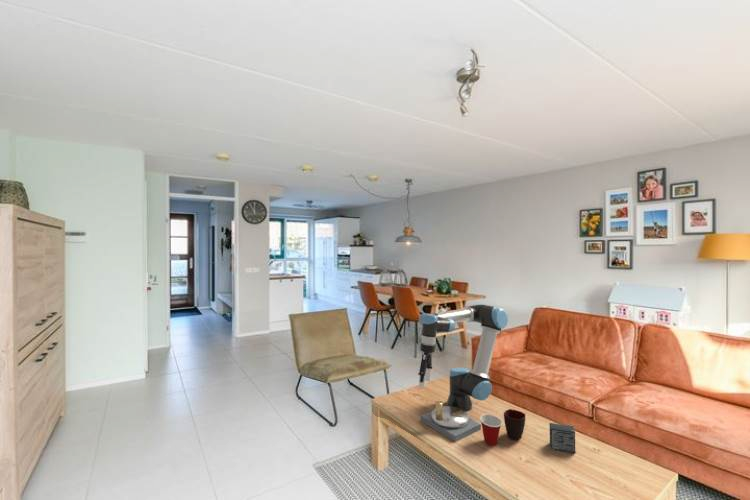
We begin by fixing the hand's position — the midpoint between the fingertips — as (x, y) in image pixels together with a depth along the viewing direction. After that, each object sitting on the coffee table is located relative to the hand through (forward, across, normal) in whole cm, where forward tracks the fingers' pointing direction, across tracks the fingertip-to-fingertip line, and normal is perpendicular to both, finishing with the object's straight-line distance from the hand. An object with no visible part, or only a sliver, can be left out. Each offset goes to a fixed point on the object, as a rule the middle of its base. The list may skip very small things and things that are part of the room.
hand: (424, 384), depth 183 cm
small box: (+20, -13, +68) cm, 72 cm away
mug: (+22, -18, +47) cm, 55 cm away
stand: (+24, -17, +13) cm, 32 cm away
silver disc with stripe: (+21, -16, +13) cm, 29 cm away
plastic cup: (+24, -6, +35) cm, 43 cm away
